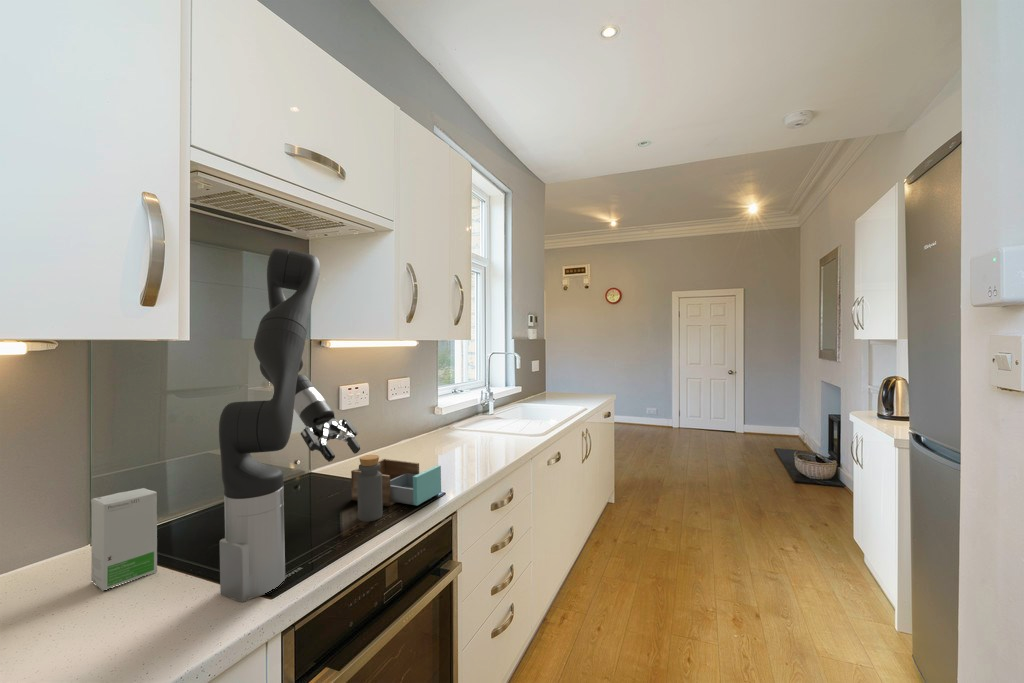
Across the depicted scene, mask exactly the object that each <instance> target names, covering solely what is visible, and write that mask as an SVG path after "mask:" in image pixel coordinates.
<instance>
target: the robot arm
mask: <svg viewBox="0 0 1024 683" xmlns="http://www.w3.org/2000/svg"><path fill="white" fill-rule="evenodd" d="M320 270H321V264H320V261H319V258H318V257H317V256H315V255H313V254H310V253H307V252H301V251H295V250H290V249H287V248H286V249H285V248H280V247H277V248H274V249H273V250H272V251H271V252H270V254H269V257H268V260H267V267H266V284H267V297H268V298H267V300H268V305H269V307H268V308H269V311H268V312H266V314H264V315H263V316H262V318H261V320H260V321H259V324H258V328H257V332H256V334H255V335H256V336H255V338H254V343H253V349H254V353H255V356H256V358H257V360H258V361H259V370H260V373H261V375H262V377H264V379H265V380H267V381H268V382H269V383H270V384H272V386H273V394H272V397H271V399H269V400H250V401H249V400H246V401H234V402H230V403H227V405H225V406H224V408H223V409H222V411H221V412H220V413H221V414H220V417H219V421H218V442H219V451H220V464H221V467H220V468H221V478H222V480H221V481H222V483H223V489H224V490H223V492H224V494H223V495H224V496H223V498H224V500H223V501H224V538H223V537H222V539H220V540H219V581H220V582H219V583H220V584H219V586H220V587H219V589H220V593H219V594H220V595H222V596H224V597H227V598H230V599H233V600H235V601H238V602H241V603H243V602H246V601H248V600H251V599H254V598H257V597H261V596H264V595H266V594H265V593H267V592H269V591H271V590H272V589H275V588H276V587H278V586H279V585H280V584H281V583H282V582H283V581H284V582H285V579H286V556H285V554H286V553H285V552H286V551H285V550H286V548H285V547H286V546H285V544H286V543H285V542H286V541H285V501H284V499H285V496H284V495H285V494H284V492H285V490H284V489H285V488H284V472H283V471H282V470H281V468H278V467H276V466H275V467H274V466H271V465H268V464H264V463H262V462H260V461H258V460H257V459H255V458H254V457H253V456H252V455H251V454H256V453H268V452H278V451H281V450H283V449H285V447H286V446H287V445H288V443H289V439H290V437H291V434H292V427H293V420H294V411H295V413H296V415H297V417H299V419H300V421H302V423H303V424H304V426H305V427H304V428H303V429H302V430H301V432H300V435H301V437H302V439H303V441H304V443H305V444H306V445H307V448H308V449H309V451H311V452H313V451H317V452H320V454H321V456H323V458H324V460H326V461H327V462H329V463H330V462H333V460H334V459H335V457H336V455H335V453H334V452H333V451H332V449H331V447H330V446H329V444H327V441H330V440H335V439H336V440H338V441H343V442H345V443H346V445H347V446H348V447H349V449H350V450H351V451H352V453H353V454H354V455H355V454H358V453H359V451H360V450H361V446H360V444H359V442H358V441H357V440H356V436H357V435H358V434H359V432H358V430H357V429H356V428H355V427H354V426H353V425H352V423H351V422H350V421H349V420H348V418H346V417H343V419H342V420H338V419H336V418H335V412H334V410H333V409H332V407H331V406H330V405H329V403H328V402H327V400H326V399H325V397H324V396H323V395H322V394H321V393H320V392H319V391H318V389H316V387H315V385H314V384H313V383H312V381H311V380H310V378H308V377H307V376H306V375H304V374H299V373H300V372H301V370H302V369H303V366H304V362H303V358H302V357H303V353H304V350H305V345H306V344H305V343H306V339H307V335H308V334H307V332H308V328H309V320H310V319H309V318H310V313H311V308H312V303H313V299H314V296H315V293H316V290H317V285H318V283H319V279H320ZM283 289H287V290H293V291H295V292H294V293H293V294H292V295H291V296H290V297H288V298H286V297H285V294H284V290H283ZM284 582H283V583H284ZM283 583H282V584H283ZM282 584H281V585H282ZM281 585H280V586H281ZM280 586H279V587H280ZM279 587H278V588H279ZM276 589H277V588H276ZM276 589H275V590H276ZM271 592H272V591H271ZM269 593H270V592H269ZM267 594H268V593H267Z"/></svg>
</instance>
